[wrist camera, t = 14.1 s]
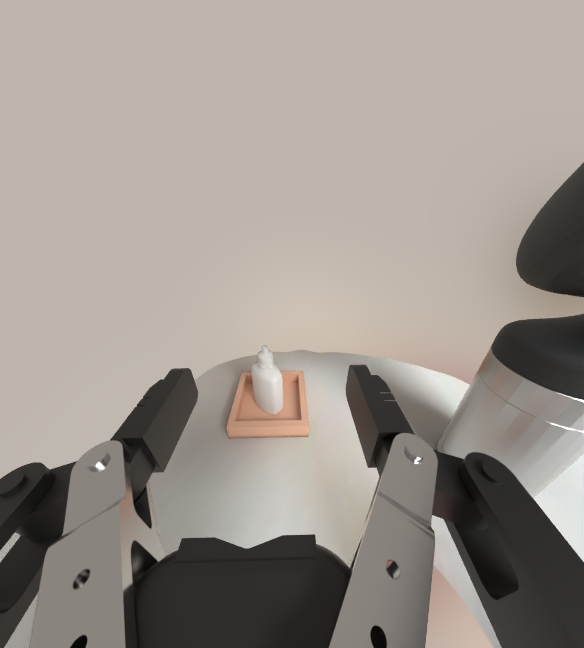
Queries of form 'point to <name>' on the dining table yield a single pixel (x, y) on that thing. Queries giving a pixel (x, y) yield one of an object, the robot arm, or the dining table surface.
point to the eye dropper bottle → (267, 383)
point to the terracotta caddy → (260, 424)
